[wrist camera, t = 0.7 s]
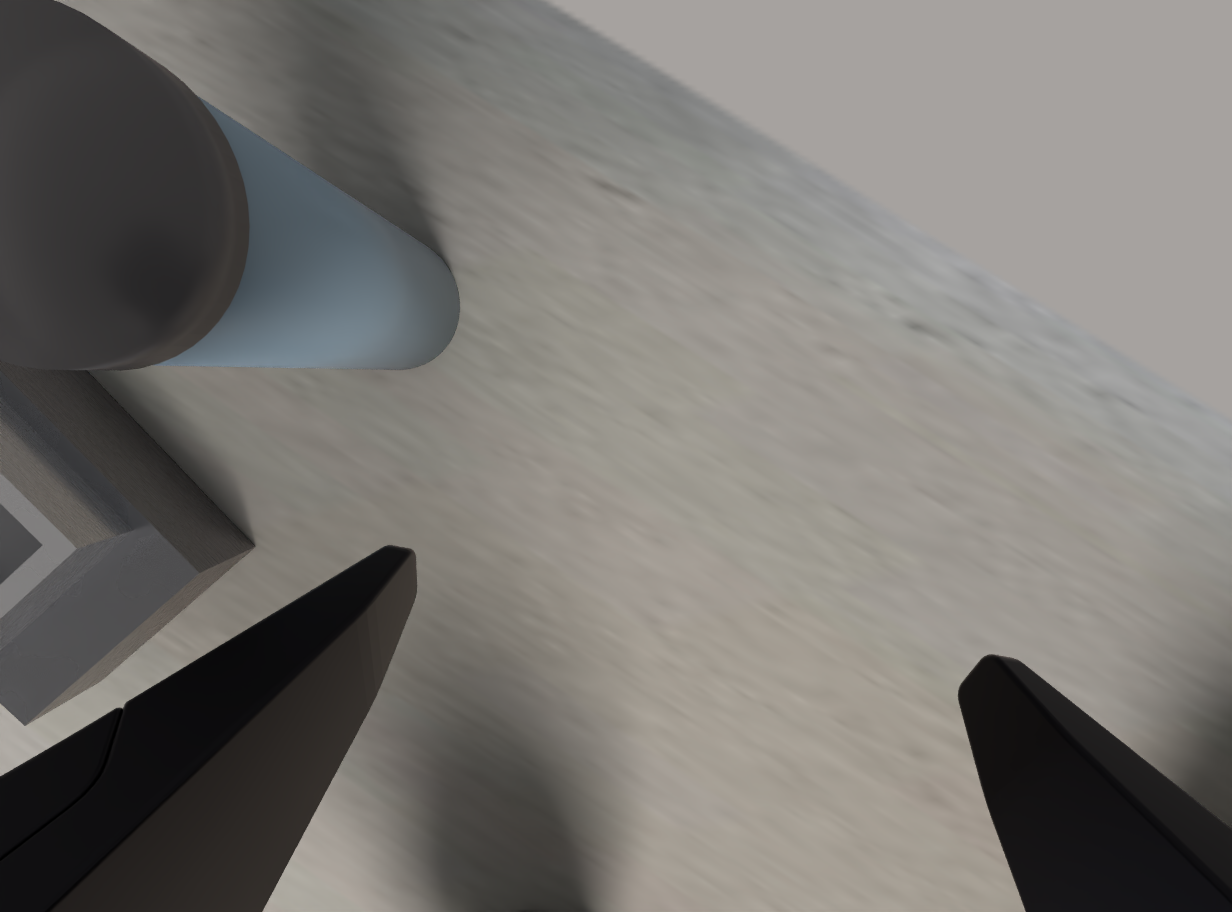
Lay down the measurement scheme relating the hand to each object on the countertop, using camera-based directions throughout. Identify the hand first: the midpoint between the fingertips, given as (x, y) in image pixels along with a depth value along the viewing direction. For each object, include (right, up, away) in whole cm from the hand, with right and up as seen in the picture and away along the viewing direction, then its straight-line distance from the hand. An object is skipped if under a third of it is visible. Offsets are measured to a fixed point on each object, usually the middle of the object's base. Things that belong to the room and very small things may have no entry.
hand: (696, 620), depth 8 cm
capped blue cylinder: (-10, +9, +13) cm, 18 cm away
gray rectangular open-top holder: (-25, +1, +14) cm, 29 cm away
